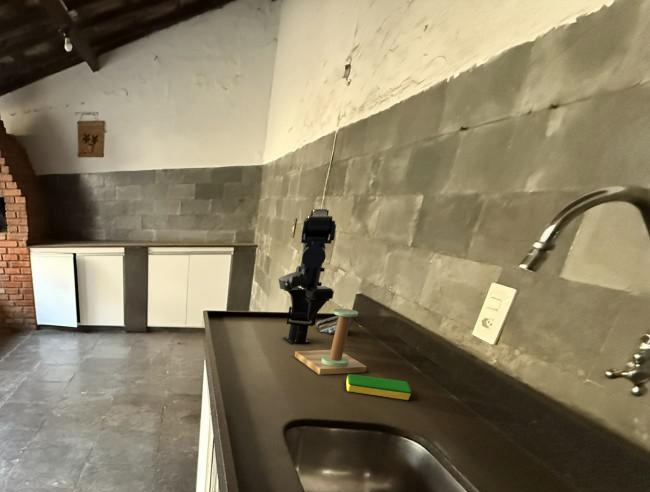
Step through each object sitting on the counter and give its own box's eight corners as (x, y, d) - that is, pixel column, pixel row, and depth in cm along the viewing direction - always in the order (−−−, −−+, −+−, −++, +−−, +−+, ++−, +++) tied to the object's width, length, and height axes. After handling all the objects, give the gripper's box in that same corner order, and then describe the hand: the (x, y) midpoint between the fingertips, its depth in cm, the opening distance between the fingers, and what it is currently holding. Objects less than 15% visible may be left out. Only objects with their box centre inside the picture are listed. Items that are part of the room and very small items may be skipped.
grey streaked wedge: (313, 333, 155) (343, 315, 147) (313, 323, 160) (343, 305, 151) (329, 350, 157) (360, 333, 149) (329, 339, 162) (359, 322, 153)
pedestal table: (316, 361, 124) (327, 310, 117) (330, 356, 127) (341, 307, 120) (338, 368, 119) (351, 315, 112) (352, 363, 122) (365, 312, 115)
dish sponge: (346, 381, 115) (348, 373, 114) (404, 389, 110) (407, 381, 109) (346, 391, 109) (348, 383, 108) (408, 400, 104) (411, 391, 103)
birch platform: (294, 356, 133) (295, 351, 132) (336, 354, 134) (337, 349, 133) (319, 374, 120) (320, 368, 119) (365, 372, 121) (367, 366, 120)
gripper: (271, 259, 128) (263, 310, 135) (300, 269, 111) (290, 326, 118) (305, 258, 129) (297, 308, 136) (340, 268, 112) (328, 324, 119)
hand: (301, 316), depth 127 cm, fingers open, 9 cm apart
